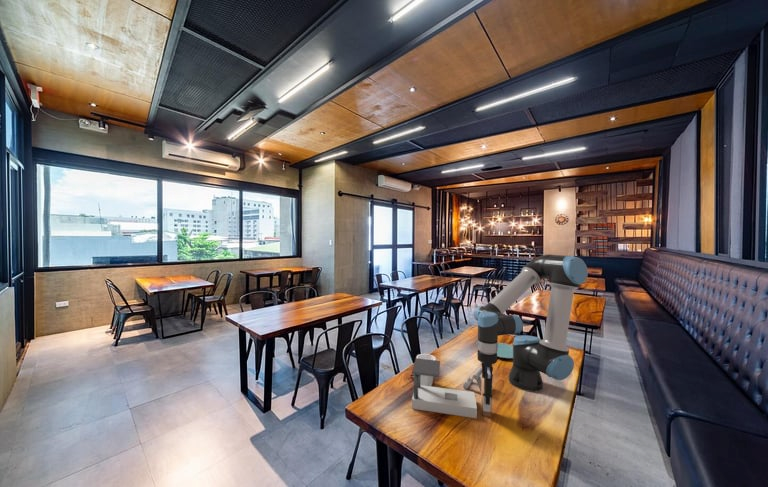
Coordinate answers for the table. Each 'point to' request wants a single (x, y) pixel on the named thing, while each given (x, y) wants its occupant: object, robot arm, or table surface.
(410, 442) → the table surface
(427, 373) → the dark grey l-shaped piece
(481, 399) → the peg
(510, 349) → the plate
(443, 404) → the board
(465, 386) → the portable electronic device stand
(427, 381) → the foam cup
